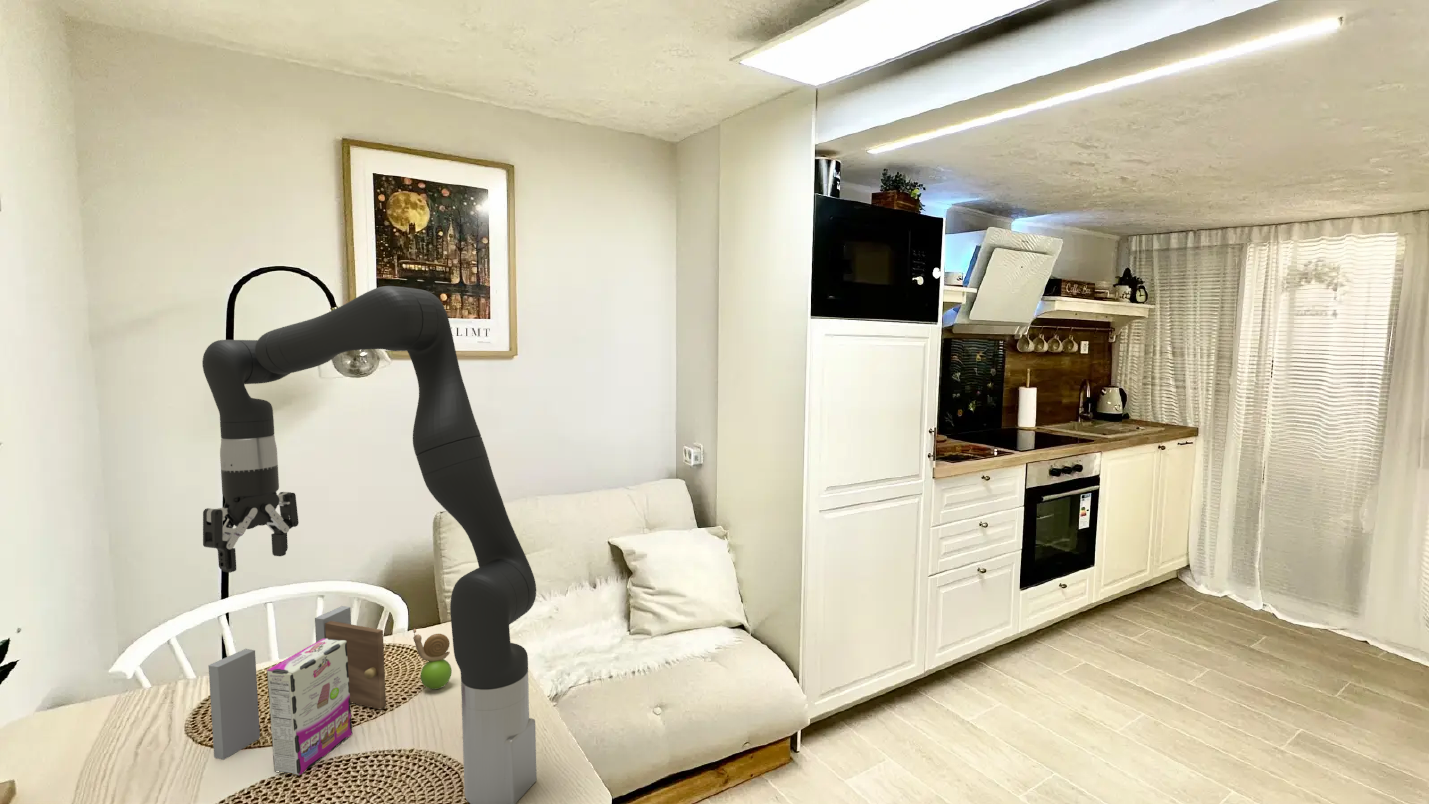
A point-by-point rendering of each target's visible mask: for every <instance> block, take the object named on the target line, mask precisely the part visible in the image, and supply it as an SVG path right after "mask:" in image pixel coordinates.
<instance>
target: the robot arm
mask: <svg viewBox="0 0 1429 804" xmlns="http://www.w3.org/2000/svg"><path fill="white" fill-rule="evenodd" d="M452 331H453V330H452V328H451V323H450V320H449V317H448V312H447V311H446V309H445V306H444V304H443V302H442V301H441V300H440V299H439V297H438V296H436V295H435V294H433V293H432V292H430V291H428V290H424V289H420V288H415V287H405V286H394V285H385V286H379V287H376V288H374V289H370V290H368V291H367V292H365V293H363V294H360V295H359V296H357V297H355V298H353V299H351V300H350V301H348V302H346V303H344V304H342V305H341V306H339V307H336V308H334V309H332V310H330V311H328V312H326V313H324V314H321V315H319V316H316V317H313V318H311V319H307V320H303V321H300V322H296V323H293V324H289V325H286V326H282V327H279V328H278V327H277V328H276V329H272V330H270V331H267V332H266V333H264V334H262V335H261V336H260V337H259V338H258V339H257V340H256V339H220V340H219V339H218V340H216V341H213V342H211V344H209V345H208V346H207V347H206V349H205V351H204V353H203V357H202V360H201V361H202V370H203V374H204V377H205V380H206V382H207V385H208V386H209V389H210V391H211V394H212V397H213V399H214V402H215V405H216V407H217V410H218V413H219V428H220V438H221V439H220V448H219V459H220V462H219V463H220V476H221V477H220V479H221V494H222V496H223V498H224V500H225V503H224V505H223V507H219V508H218V507H217V508H211V507H210V508H209V507H207V508H204V509H203V511H202V545H203V547H205V548H209V549H210V548H211V549H216V550H217V557H218V559H217V560H218V568H219V569H220V570H221V571H222V572H225V573H234V572H236V571H237V555H236V547H235V545H236V544H237V542H238V540H239V539H240V537H242V536H243V535H244V534H245V532H246V530H250V529H254V528H256V527H258V526H265V525H266V526H267V527H268V528H269V529H270V531H272V532H273V533H271V551H272V553H271V554H272V556H274V557H284V556H286V554H287V551H288V548H289V546H288V545H289V544H288V533H289V531H290V529H293V528H296V527H298V526H299V515H298V514H299V513H298V504H297V497H296V496H297V494H296V493H295V492H289V491H280V492H279V493H277V492H278V491H279V488H280V482H279V481H280V479H279V462H278V460H279V459H278V447H277V442H276V438H275V419H274V409H273V405H272V403H271V402H270V401H268V400H265V399H260V398H253V397H251V395H250V393H248V390H247V388H246V386H245V385H256V384H257V385H259V384H267V383H272V382H275V381H278V380H281V379H283V378H285V377H287V376H289V375H290V374H292V373H293V374H294V373H298V372H301V371H306V370H308V369H309V370H310V369H312V368H316V367H319V366H322V365H324V364H327V363H329V362H330V361H332V360H333V359H334V358H335V357H337V356H338V355H340V354H343V353H347V352H351V351H360V350H361V351H362V350H386V351H391V352H392V351H393V352H407V353H408V356H409V358H410V360H411V363H412V365H413V366H412V367H413V368H414V373H415V375H416V379H417V384H418V402H417V407H416V412H415V417H414V418H415V419H414V423H413V429H412V447H413V451H414V454H415V457H416V460H417V462H418V466H419V469H420V472H421V475H422V478H423V481H424V484H425V486H426V488H427V490H428V492H429V493H430V494H431V495H432V497H433V498H434V499H435V501H436V502H438V503H439V505H441V506H442V508H443V509H444V510H445V511H446V512H447V513H448V514H449V515H450V516H451V517H452V518H453V519H454V520H455V521H456V522H457V523H458V524H459V525H460V526H461V528H462V529H463V530H464V532H465V533H466V535H467V537H468V539H469V540H470V543H471V545H472V548H473V551H474V554H475V558H476V560H477V564H478V567H477V568H476V569H473V570H471V571H470V572H467V573H466V574H464V575H463V576H461V577H460V578H459V579H458V580H457V581H456V582H455V584H454V586H453V589H452V590H451V591H452V592H451V596H450V606H449V607H450V608H449V609H450V624H451V625H450V626H451V634H452V635H451V636H452V647H453V654H454V655H453V656H454V659H455V661H456V664H457V666H458V668H459V671H460V687H461V688H460V689H461V691H460V692H461V693H460V694H461V721H462V723H461V725H462V726H461V727H462V728H461V729H462V755H463V756H462V758H463V760H462V761H463V781H464V782H463V783H464V785H463V786H464V788H463V789H464V797H465V799H466V801H467V802H468V803H469V804H517V803H518V802H519V800H520V799H521V798H522V797H523V796H524V795H525V794H526V792H528V790H529V789H530V788H531V787H532V786H533V785H534V783H536V781H538V780H537V742H536V741H537V739H536V738H537V737H536V734H537V733H536V720H535V719H534V718H530V707H529V706H530V705H529V704H530V702H529V701H530V697H529V695H530V694H529V692H530V691H529V657H528V652H527V650H526V648H525V647H523V645H520V644H518V643H513V642H511V633H510V625H511V624H513V623H514V622H516V621H517V620H519V619H520V618H522V617H523V616H524V615H525V614H527V613H528V612H529V611H530V610H531V609H532V607H533V605H534V604H535V602H536V597H537V584H536V583H537V582H536V579H535V576H534V573H533V570H532V568H531V565H530V563H529V560H528V559H527V555H526V554H525V552H524V550H523V547H522V545H521V543H520V541H519V539H518V536H517V534H516V533H515V530H514V528H513V525H512V522H511V520H510V518H509V515H508V513H507V512H508V511H507V510H506V507H505V504H504V501H503V497H502V496H501V493H500V490H499V488H498V484H497V482H496V479H495V476H494V473H493V469H492V465H491V463H490V458H489V456H488V453H487V449H486V447H485V444H484V440H483V437H482V435H481V432H480V429H479V426H478V425H477V422H476V419H475V415H474V412H473V409H472V407H471V402H470V400H469V396H468V393H467V390H466V386H465V384H464V380H463V376H462V373H461V370H460V364H459V359H458V356H457V351H456V346H455V343H454V338H453V337H454V335H453V332H452ZM278 506H279V512H280V513H278V512H277V511H276V509H277V508H278ZM226 518H227V519H226ZM225 520H226V521H225ZM224 521H225V522H224ZM223 522H224V524H223ZM234 527H235V528H234Z"/></svg>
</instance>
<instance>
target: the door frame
mask: <svg viewBox="0 0 1429 804" xmlns="http://www.w3.org/2000/svg"><path fill="white" fill-rule="evenodd" d="M330 621H335V622H340V623H346V624H352V613H351V606H345V605H341V606H338V607H337V608H334V609H332V610H329V611H328V612H325V613H323V614H321V615H318V616H316V617H314V629H315V631H314V632H315V643H316V642H318V641H319V640H321V639H325V638H326V630H325V623H327V622H330ZM257 676H258V675H257V663H256V650H255V649H250V648H244V649H241V650H240V651H238V652H235V653H233V654H231V655H229V656H227V657H224V658H222V659H219V660H216V661H215V662H213V663H210V664H208V677H209V678H208V680H209V681H208V682H209V694H210V695H209V696H210V714H211V727H212V728H211V730H212V742H213V743H212V744H213V745H212V747H213V757H214V759H219V760H223V761H224V760H226V759H227V758H229V757H231V756H233V755H235V754H236V753H238V752H239V751H242V749H244V748H246V747H248V746H250V745H251V744H253V743H254V742H257V741H258V740H260V739H261V733H260V715H259V699H258V698H259V697H258V677H257ZM259 738H260V739H259Z"/></svg>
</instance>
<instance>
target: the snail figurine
mask: <svg viewBox="0 0 1429 804" xmlns="http://www.w3.org/2000/svg"><path fill="white" fill-rule="evenodd" d="M412 631H413V633H414V634H413V638H412V639H413V642H414V645H415V648H416V651H417V654H418V656H419V657H420V658H421V659H422V660H424V661H426V663H425V664H424V665H423V667H422V668H421V671H420V682H421V683H422V686H424V687H426V688H427V689H430V690H438V689H440V688H441V689H442V688H443V687H444V686H446V685H447V684H448V682H449V681H450V679H451V678H452V677H451V676H452V667H451V664H450V663H449V662H448V660H445V659H446V658H447V657H448V656H449V655H450V654H451V653H450V651H448V650H449V649H450V645H451V644H450V640H449V638H448V637H447V636H446V635H445V634H443V633H433V634H432V635H430V636H429V637H427V638H426V640H425V641H424V643H422V635H421V634H419V633H418V634H416V633H417V629H416V628H413V630H412Z"/></svg>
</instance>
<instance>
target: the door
mask: <svg viewBox="0 0 1429 804" xmlns="http://www.w3.org/2000/svg"><path fill="white" fill-rule="evenodd" d="M325 630H326V638H329V639H336V640H345V641H347V658H348V674H349V691H350V703H351V702H353V703H352V704H355V703H356V705H359V706H360V705H361V706H365V707H370V708H374V709H379V710H382V709H383V708H385V707H386V706H387V699H386V671H385V651H384V650H385V646H384V630H383V629H379V628H373V627H368V626H362V625H357V624H352V623H351V624H346V623H340V622H335V621H330V622H327V623H325Z"/></svg>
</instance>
